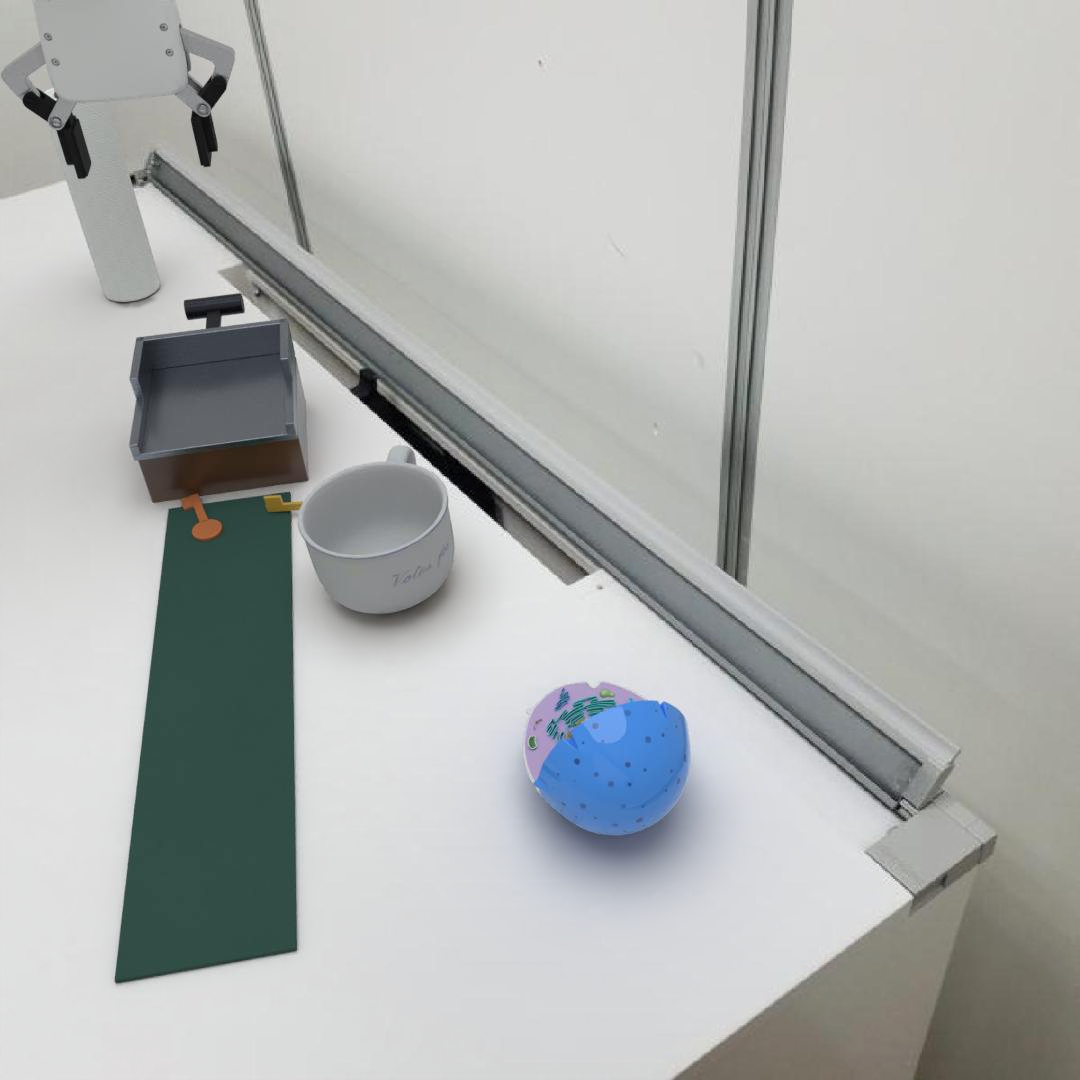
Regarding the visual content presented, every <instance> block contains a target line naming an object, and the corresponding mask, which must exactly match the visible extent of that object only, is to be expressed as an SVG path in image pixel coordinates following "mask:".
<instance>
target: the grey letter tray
mask: <svg viewBox="0 0 1080 1080" xmlns="http://www.w3.org/2000/svg"><path fill="white" fill-rule="evenodd" d="M243 297H244V296H243V294H242V293H241V292H237V293H230V294H221V295H213V296H206V297H197V298H190V299H184V300H183V309H184V314H185V317H186V320H187V321H195V320H202V319H205V321H206V322H205V328H199V329H193V330H185V331H176V332H170V333H169V332H168V333H162V334H161V333H160V334H153V335H147V336H145V335H144V336H138V337H135V343H134V349H133V355H132V361H131V367H130V372H129V378H128V379H129V383H130V385H131V388H132V391H133V394H134V397H135V405H134V410H133V418H132V425H131V432H130V436H129V437H130V438H129V443H128V447H129V450H130V452H131V455H132V458H133V461H134V462H138V461H139V460H146V459H154V458H161V457H168V456H175V455H183V454H190V453H197V452H204V451H212V450H219V449H226V448H234V447H241V446H248V445H255V444H263V443H270V442H277V441H284V440H292V439H297V406H296V370H295V357H296V351H295V346H294V342H293V337H292V332H291V329H290V324H289V320H288V318H280V319H272V320H263V321H258V322H257V321H256V322H249V323H242V324H240V323H239V324H232V325H225V326H224V325H223V326H222V317H227V316H234V315H241V314H245V313H246V309H245V308H246V307H245V302H244V298H243Z"/></svg>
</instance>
